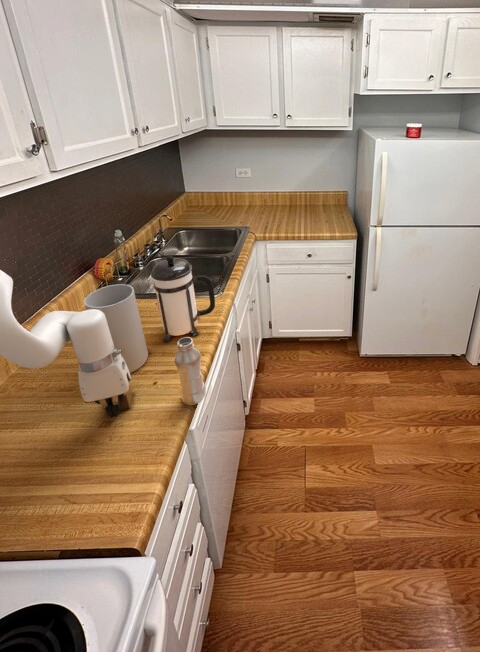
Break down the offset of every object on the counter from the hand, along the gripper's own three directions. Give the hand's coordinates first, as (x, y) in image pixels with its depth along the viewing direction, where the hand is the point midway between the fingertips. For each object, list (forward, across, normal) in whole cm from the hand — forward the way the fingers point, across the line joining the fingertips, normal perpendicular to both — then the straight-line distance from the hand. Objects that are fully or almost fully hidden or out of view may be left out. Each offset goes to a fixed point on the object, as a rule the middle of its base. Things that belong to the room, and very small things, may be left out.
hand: (115, 412), depth 87 cm
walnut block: (+2, 0, -4) cm, 4 cm away
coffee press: (+2, -17, -33) cm, 37 cm away
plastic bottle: (+2, -20, +1) cm, 20 cm away
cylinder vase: (+2, +1, -21) cm, 21 cm away
